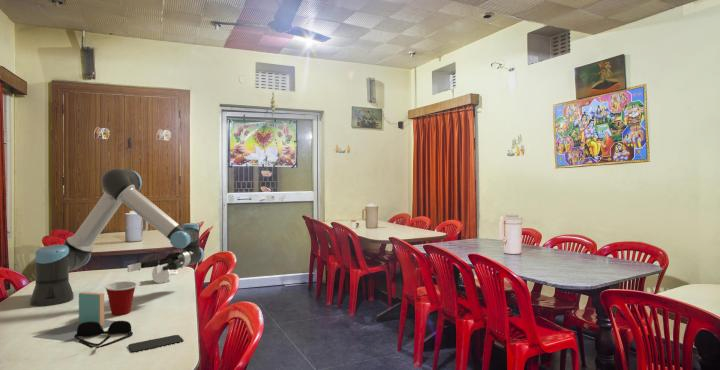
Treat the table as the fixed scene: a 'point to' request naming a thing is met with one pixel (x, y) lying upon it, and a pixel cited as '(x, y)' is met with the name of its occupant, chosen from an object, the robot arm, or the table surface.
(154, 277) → the mug
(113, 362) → the table surface
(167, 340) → the phone
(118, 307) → the plastic cup
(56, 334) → the mat
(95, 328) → the sunglasses
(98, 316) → the tile
